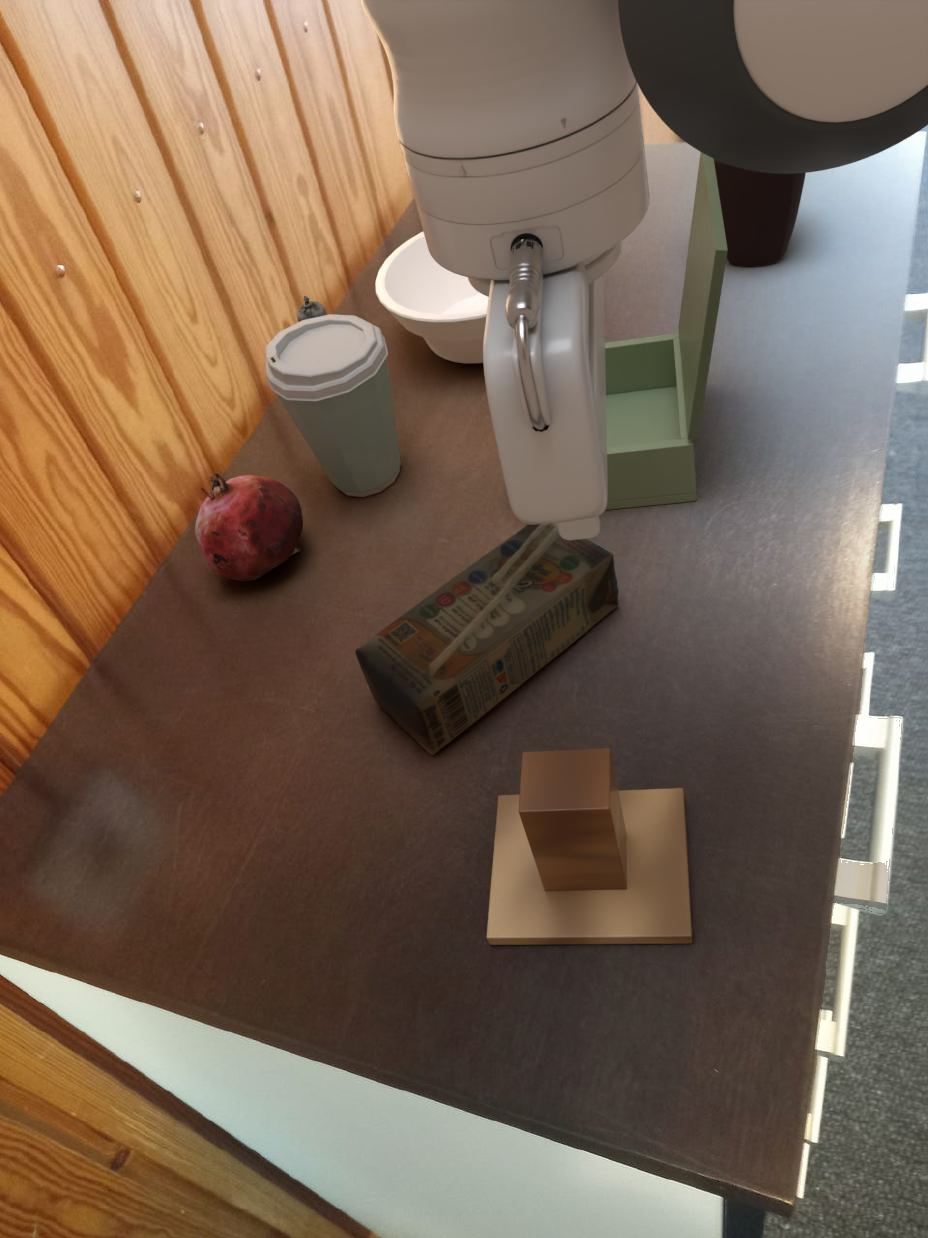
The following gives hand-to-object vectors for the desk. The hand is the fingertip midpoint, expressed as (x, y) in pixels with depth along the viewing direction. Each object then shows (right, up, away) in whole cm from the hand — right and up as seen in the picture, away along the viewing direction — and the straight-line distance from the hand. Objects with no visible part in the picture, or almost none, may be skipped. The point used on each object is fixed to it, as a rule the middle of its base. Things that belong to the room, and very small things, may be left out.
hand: (581, 460), depth 49 cm
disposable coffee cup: (-14, +6, +47) cm, 50 cm away
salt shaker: (-18, +15, +57) cm, 61 cm away
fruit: (-23, -3, +42) cm, 48 cm away
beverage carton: (-3, -10, +29) cm, 31 cm away
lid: (+12, +17, +30) cm, 37 cm away
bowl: (-3, +23, +60) cm, 64 cm away
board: (+2, -23, +15) cm, 28 cm away
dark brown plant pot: (+26, +32, +60) cm, 73 cm away
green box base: (+7, +7, +42) cm, 43 cm away
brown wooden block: (+2, -22, +14) cm, 27 cm away
